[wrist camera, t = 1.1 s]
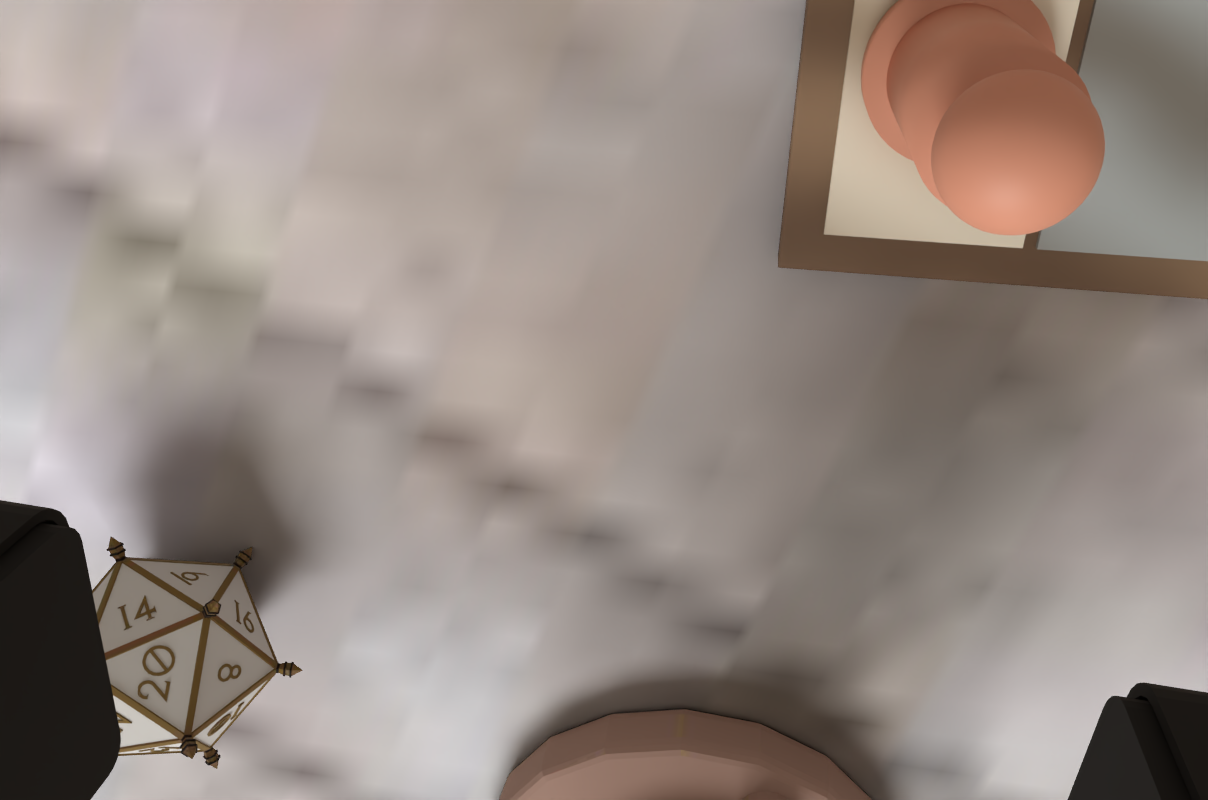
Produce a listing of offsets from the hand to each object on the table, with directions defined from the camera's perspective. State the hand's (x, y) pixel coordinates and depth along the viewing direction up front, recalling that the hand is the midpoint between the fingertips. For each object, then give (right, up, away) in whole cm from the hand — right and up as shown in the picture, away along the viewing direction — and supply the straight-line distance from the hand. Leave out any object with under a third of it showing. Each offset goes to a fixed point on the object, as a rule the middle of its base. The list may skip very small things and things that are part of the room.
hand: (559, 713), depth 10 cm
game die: (-15, -5, +33) cm, 37 cm away
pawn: (+10, +12, +18) cm, 24 cm away
